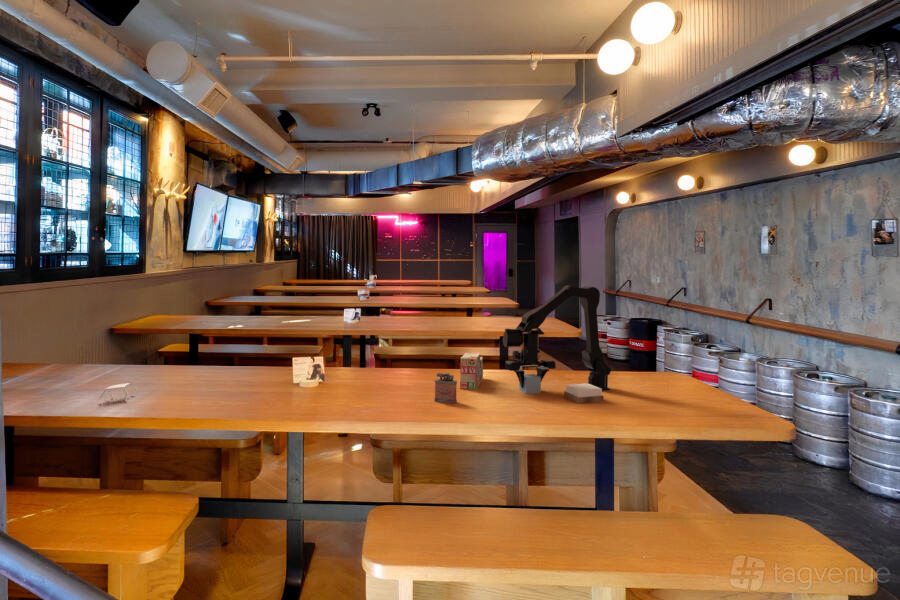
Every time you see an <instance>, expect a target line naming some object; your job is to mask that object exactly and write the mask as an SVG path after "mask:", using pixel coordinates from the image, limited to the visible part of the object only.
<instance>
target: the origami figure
mask: <svg viewBox="0 0 900 600" xmlns="http://www.w3.org/2000/svg"><path fill="white" fill-rule="evenodd" d="M128 387H131V388H133V389H134V390H133V391H132V392H131V393H130V394H129V391H127V388H128ZM122 389H123V392H124V393H125V396H124V398H123V399H124V402H127V401H128V399H127V397H128V395H130V396H131V397H132V396H134V395H133V393H134V392H136V391H137V390H138V387H136V386H135V385H134V384H133V383H132V382H126V383H120V384H119V383H118V384H115V385H110V386H107V387H106V388H103V391H102V393H101V394H100V396H99V399H101V400H103V401H104V402H103V404H105V403H106V402H108V399H106V398H103V397H104V395H105V394H106V392H108V394H109V396H110V397H111V398H110V401H112V400H113V399H114V396H113V394H112V392H111V391H113V390H122Z"/></svg>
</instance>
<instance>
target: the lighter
mask: <svg viewBox="0 0 900 600" xmlns="http://www.w3.org/2000/svg"><path fill="white" fill-rule="evenodd" d="M436 377H438V378H434V400H433V401H434V402H436V403H441V402H442V403H444V404H457V403H458V400H457V383H458V380H455V379H454V377H455V375H454V374H450V373H449V372H446V373H443V372H437V373H436Z"/></svg>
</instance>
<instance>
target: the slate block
mask: <svg viewBox="0 0 900 600" xmlns="http://www.w3.org/2000/svg"><path fill="white" fill-rule="evenodd" d="M518 382H519V381H518ZM518 385H519V386H518V387H519V388H518V390H519V392H522V393H524V394H526V395H530V394H541V392H542V391H541V390H542V389H541V387H542V381H541V377H540V376H538V375H537V374H536V373H526V374H525V373H524V386H523V388H521V385H520V382H519V383H518Z"/></svg>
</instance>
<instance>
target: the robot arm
mask: <svg viewBox="0 0 900 600" xmlns="http://www.w3.org/2000/svg"><path fill="white" fill-rule="evenodd" d="M572 297H575V298H578V299H579V303H580V304H581V307H582V309H583V313H584V314H583V315H584V325H585V326H584V328H585V340H586V346H585V347H586V348H585V350H582V351H581V355H582V359H581V361H582V362H583V364H584V366H585V367H587V371H588V372H589V373H588V374H589V376H588V379H587V380H588V381H587V382H588V384H591V385H594V386H596V387H599V388H601V389H602V391H609V390H610V389H611V388H609V387H608V381H609V380H608V379H609V375H610V374H611V371H612V369H611V368H610V367H609V366H608V365H607V364H606V361H605V360H606V359H605V356H604V353H603V350H602V348H601V346H600V337H599V322H598V321H599V320H598V311H597V310H598V307H599V304H600V299H601V292H600V290H599V289H598V288H597V287H595V286H582V287H577V286H576V287H575V286H572V285H565V286H563V287H562V289H560V290H559V291H558V292H557V293H555V294H553V295H552V296H551V297H550V298H549V299H548V300H546V301H545V302H544V303H543V304H541V305H540V306H538V307H536V308H533V309H531V310H529V311H526V312H525V313H524V314H523V315H522V317H521V321H520V322H519V324H518V325H517V326H516V328H504V332H503V336H502V344H503V346H504V347H505V348H513V347H516V348H520V347H521V346H522V348H521V350H520V351H519V350H513V351H512V355H511V356H512V357H511V358H512V359H513V360H506V361H505V363H504V369H506V370H508V371H511V372H515V375H516V377H517V379H518V382H520V385H521V388H523V386H524V374H525V370H523V369H524V368H535V369H536V375H538V376H540V377H541V382H542V381H543V379H544V378H545V375H546V374H547V372H550V370H555V369H557V363H556V361H555V360H552V359H549V358H546V359H540V360H539V353H540V354H541V351H540V349H539V337H540V336H541V335H545V332H544V331H543V330H542V328H541V325H542V324H544V322H545V321H546V319H547V317H548V316H549V315H550V314H551V313H552V312H553V311H555V310H556V309H558V308H559V307H560V306H561V305H562V304H564V303H565V302H566V301H568V300H569V299H570V298H572ZM539 335H540V336H539Z"/></svg>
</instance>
